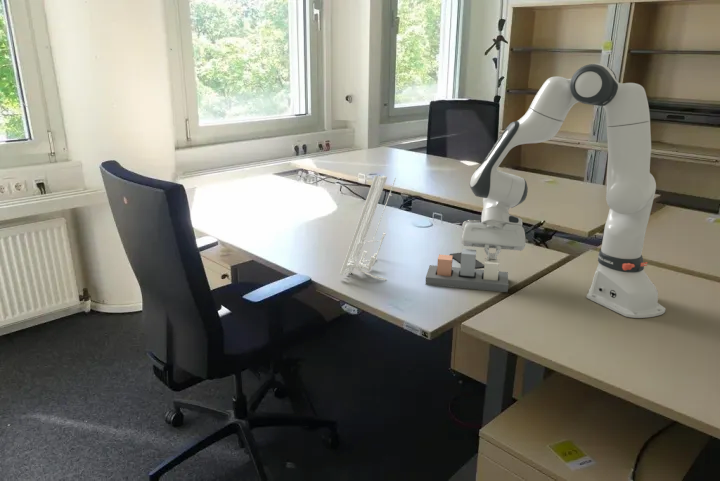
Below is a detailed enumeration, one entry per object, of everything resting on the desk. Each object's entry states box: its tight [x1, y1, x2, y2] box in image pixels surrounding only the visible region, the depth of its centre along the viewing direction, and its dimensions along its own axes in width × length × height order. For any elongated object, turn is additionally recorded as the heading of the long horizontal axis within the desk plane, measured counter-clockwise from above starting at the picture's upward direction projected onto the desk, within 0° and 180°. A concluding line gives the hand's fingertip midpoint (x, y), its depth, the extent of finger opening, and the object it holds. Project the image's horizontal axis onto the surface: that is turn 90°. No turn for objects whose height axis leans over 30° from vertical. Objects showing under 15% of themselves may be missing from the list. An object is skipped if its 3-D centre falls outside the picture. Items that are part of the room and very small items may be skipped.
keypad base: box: [425, 264, 509, 293], centre depth 175 cm, size 26×11×2 cm, turn 76°
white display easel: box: [339, 175, 397, 281], centre depth 180 cm, size 24×14×35 cm, turn 148°
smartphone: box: [449, 251, 485, 269], centre depth 194 cm, size 7×1×15 cm
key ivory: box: [483, 257, 500, 281], centre depth 173 cm, size 4×4×8 cm
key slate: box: [459, 248, 477, 276], centre depth 174 cm, size 4×4×8 cm
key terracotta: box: [436, 254, 454, 276], centre depth 176 cm, size 4×4×8 cm
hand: (491, 259), depth 171 cm, fingers closed, pressing on key ivory
